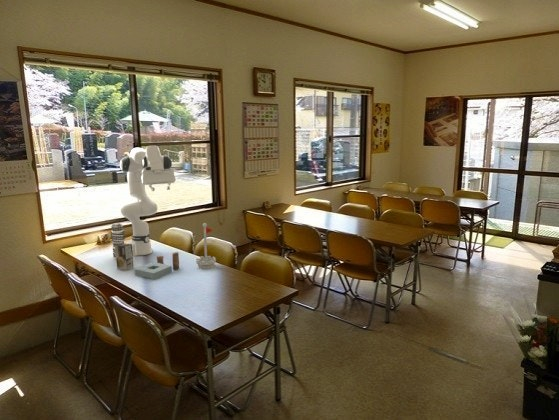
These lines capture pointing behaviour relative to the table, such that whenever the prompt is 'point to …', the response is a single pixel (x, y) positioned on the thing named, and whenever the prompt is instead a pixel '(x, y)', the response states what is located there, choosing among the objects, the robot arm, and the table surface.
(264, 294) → the table surface
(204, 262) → the flag stand
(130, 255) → the coffee box
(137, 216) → the robot arm
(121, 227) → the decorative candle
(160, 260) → the short pin
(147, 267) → the bored board
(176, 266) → the long pin
